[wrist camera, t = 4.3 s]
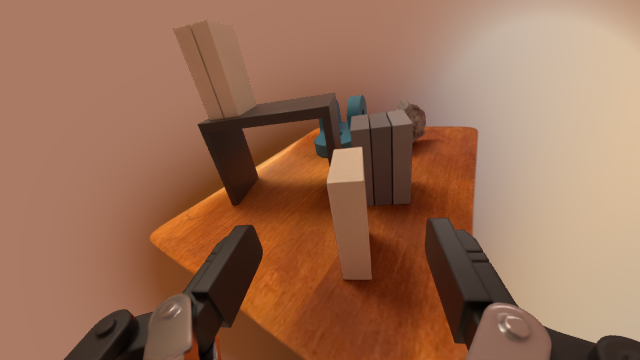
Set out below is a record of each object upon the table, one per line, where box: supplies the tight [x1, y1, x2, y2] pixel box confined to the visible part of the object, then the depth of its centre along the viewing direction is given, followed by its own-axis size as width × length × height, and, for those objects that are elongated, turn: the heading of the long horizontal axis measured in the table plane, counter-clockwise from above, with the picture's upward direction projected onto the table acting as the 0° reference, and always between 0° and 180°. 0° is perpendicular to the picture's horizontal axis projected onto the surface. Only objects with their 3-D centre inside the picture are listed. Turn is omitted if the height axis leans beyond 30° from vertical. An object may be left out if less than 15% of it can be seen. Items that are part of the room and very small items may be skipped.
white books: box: [173, 20, 257, 120], centre depth 34 cm, size 5×7×12 cm
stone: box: [396, 100, 426, 142], centre depth 48 cm, size 9×7×10 cm
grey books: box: [350, 110, 413, 206], centre depth 34 cm, size 8×7×12 cm
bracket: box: [314, 95, 367, 158], centre depth 56 cm, size 18×10×10 cm, turn 159°
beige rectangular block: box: [326, 147, 372, 280], centre depth 24 cm, size 3×7×12 cm, turn 172°
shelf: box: [198, 93, 342, 205], centre depth 40 cm, size 20×10×15 cm, turn 82°
